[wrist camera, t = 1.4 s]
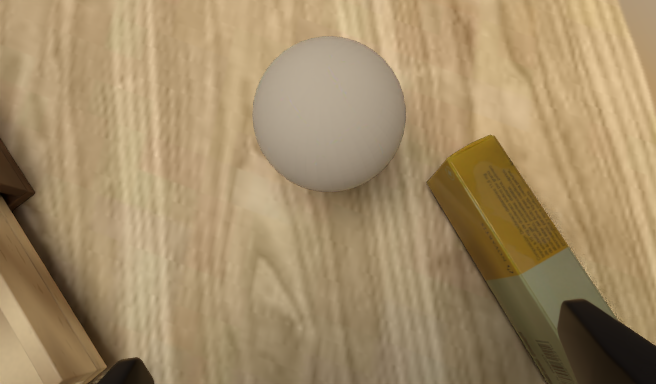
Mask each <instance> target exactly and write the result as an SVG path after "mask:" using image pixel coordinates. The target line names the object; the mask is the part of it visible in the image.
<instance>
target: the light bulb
mask: <svg viewBox="0 0 656 384" xmlns="http://www.w3.org/2000/svg"><path fill="white" fill-rule="evenodd" d="M405 121H406V107H405V101H404V95H403V92H402V89H401V86H400V83H399V81H398V79H397V77H396V76H395V74H394V72H393V70H392V69H391V68H390V66H389V65H388V64H387V63H386V61H385V60H384V59H383V58H382V57H380V56H379V55H378V54H377V53H376V52H375V51H373V50H372V49H370V48H368V47H367V46H365V45H363V44H361V43H359V42H357V41H354V40H350V39H347V38H343V37H335V36H323V37H316V38H311V39H308V40H305V41H301V42H299V43H297V44H295V45H293V46H291V47H290V48H288V49H287V50H285V51H284V52H282V53H281V54H280V55H279V56H278V57H277V58H276V59H275V60H274V61H273V62H272V63H271V64H270V66H269V67H268V68H267V69H266V71H265V73H264V74H263V76H262V78H261V80H260V82H259V85H258V87H257V89H256V93H255V98H254V102H253V126H254V131H255V135H256V139H257V142H258V144H259V146H260V148H261V150H262V153H263V154H264V156H265V157H266V159H267V160H268V161H269V163H270V164H271V165H272V166H273V167H274V168H275V169H276V170H277V172H278V173H280V174H281V175H282V176H284V177H285V178H286V179H288V180H289V181H291V182H293V183H295V184H297V185H299V186H301V187H304V188H307V189H310V190H315V191H321V192H337V191H344V190H348V189H351V188H355V187H357V186H360V185H362V184H364V183H366V182H368V181H369V180H371V179H372V178H373V177H375V176H376V175H378V174H379V173H380V172H381V171H382V170H383V169H384V168H385V167H386V166H387V164H388V163H389V162H390V161H391V159H392V158H393V157H394V155H395V153H396V151H397V149H398V147H399V145H400V142H401V139H402V136H403V133H404V127H405Z"/></svg>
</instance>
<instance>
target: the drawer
mask: <svg viewBox="0 0 656 384" xmlns="http://www.w3.org/2000/svg"><path fill="white" fill-rule="evenodd" d="M106 367H107V366H106V365H105V363H104V361H103V360H102V358H101V356H100V355H99V353H98V352H97V350H96V348H95V347H94V345H93V343H92V342H91V340H90V339H89V337H88V335H87V334H86V332H85V331H84V329H83V327H82V326H81V324H80V322H79V321H78V319H77V318H76V316H75V314H74V313H73V311H72V309H71V308H70V306H69V305H68V303H67V301H66V300H65V298H64V296H63V295H62V293H61V292H60V290H59V288H58V287H57V285H56V283H55V282H54V280H53V279H52V277H51V275H50V274H49V272H48V270H47V269H46V267H45V266H44V264H43V262H42V261H41V259H40V258H39V256H38V254H37V253H36V251H35V249H34V248H33V246H32V245H31V243H30V241H29V240H28V238H27V236H26V235H25V233H24V232H23V230H22V228H21V227H20V225H19V223H18V222H17V220H16V219H15V217H14V215H13V214H12V212H11V210H10V209H9V207H8V206H7V204H6V202H5V201H4V199H3V198H2V196H1V194H0V384H87V383H88V382H90V381H91V380H92V379H93V378H95V377H96V376H97V375H98V374H100V373H101V372H102V371H103V370H104V369H106Z"/></svg>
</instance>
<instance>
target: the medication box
mask: <svg viewBox="0 0 656 384" xmlns="http://www.w3.org/2000/svg"><path fill="white" fill-rule="evenodd" d="M427 184H428V186H429V188H430V189H431V191H432V193H433V194H434V196H435V198H436V199H437V201H438V203H439V204H440V206H441V208H442V209H443V211H444V213H445V214H446V216H447V218H448V219H449V221H450V223H451V224H452V226H453V228H454V229H455V231H456V233H457V234H458V236H459V238H460V239H461V241H462V243H463V244H464V246H465V248H466V249H467V251H468V252H469V254H470V256H471V257H472V259H473V261H474V262H475V264H476V266H477V267H478V269H479V271H480V272H481V274H482V275H483V277H484V279H485V280H486V282H487V284H488V286H489V287H490V289H491V290H492V292H493V294H494V295H495V297H496V299H497V300H498V302H499V304H500V305H501V307H502V309H503V310H504V312H505V314H506V315H507V317H508V319H509V320H510V322H511V324H512V325H513V327H514V329H515V330H516V332H517V334H518V335H519V337H520V339H521V340H522V342H523V343H524V345H525V347H526V348H527V350H528V352H529V353H530V355H531V357H532V358H533V360H534V362H535V363H536V365H537V367H538V368H539V370H540V371H541V373H542V375H543V376H544V378H545V380H546V381H547V383H548V384H578V383H577V381H576V378H575V376H574V374H573V371H572V369H571V366H570V364H569V361H568V359H567V356H566V354H565V351H564V349H563V347H562V344H561V342H560V339H559V336H558V331H557V325H558V320H559V314H560V308H561V304H562V302H563V301H565V300H572V299H579V298H582V299H585V300H588V301H589V302H591V303H592V304H594V305H595V306H597V307H598V308H600V309H601V310H603V311H604V312H606V313H607V314H609V315H610V316H612V317H613V318H615V319H616V320H618V319H617V318H616V316H615V315H614V314H613V312H612V311H611V309H610V308H609V306H608V305H607V303H606V302H605V300H604V299H603V297H602V296H601V294H600V293H599V291H598V290H597V288H596V287H595V285H594V284H593V282H592V281H591V279H590V278H589V276H588V275H587V273H586V272H585V270H584V269H583V267H582V266H581V264H580V263H579V261H578V260H577V258H576V257H575V255H574V254H573V252H572V251H571V249H570V248H569V246H568V245H567V243H566V242H565V240H564V239H563V237H562V236H561V234H560V233H559V231H558V230H557V228H556V227H555V225H554V224H553V222H552V221H551V219H550V218H549V216H548V215H547V213H546V212H545V210H544V209H543V207H542V206H541V205H540V203H539V202H538V200H537V198H536V197H535V195H534V194H533V193H532V191H531V190H530V188H529V187H528V185H527V184H526V182H525V181H524V179H523V178H522V176H521V175H520V173H519V172H518V170H517V169H516V167H515V166H514V164H513V163H512V161H511V160H510V158H509V157H508V155H507V154H506V152H505V151H504V149H503V148H502V146H501V145H500V143H499V142H498V140H497V139H496V137H495V136H492V135H488V136H486V137H484V138H481V139H479V140H477V141H475V142H473V143H471V144H469V145H467V146H465V147H464V148H462V149H460V150H459V151H457V152H455V153H454V154H452V155H451V156H449V157H448V158H447V159H446V160H445V161H444V163H443V164H442V165H441V166H440V167H439V169H438V170H437V171H436V172H435V173H434V174H433V176H432V177H431V178H430V179H429V180H428V181H427Z"/></svg>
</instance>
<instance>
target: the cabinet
mask: <svg viewBox="0 0 656 384" xmlns="http://www.w3.org/2000/svg"><path fill="white" fill-rule="evenodd" d="M34 193H35V192H34V191H33V189H32V188H31V186H30V185H29V183H28V182H27V180H26V178H25V177H24V175H23V174H22V172H21V171H20V169H19V167H18V166H17V164H16V163H15V161H14V160H13V158H12V157H11V155H10V153H9V152H8V150H7V149H6V147H5V146H4V144H3V142H2V141H1V139H0V194H1V196H2V198H3V199H4V201H5V202H6V204H7V206H8V207H9V209H10V210H11V211H13V210H14V209H15V208H16V207H18V206H19V205H20V204H22V203H23V202H24V201H25V200H27V199H28V198H29V197H31V196H32V195H33V194H34Z"/></svg>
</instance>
